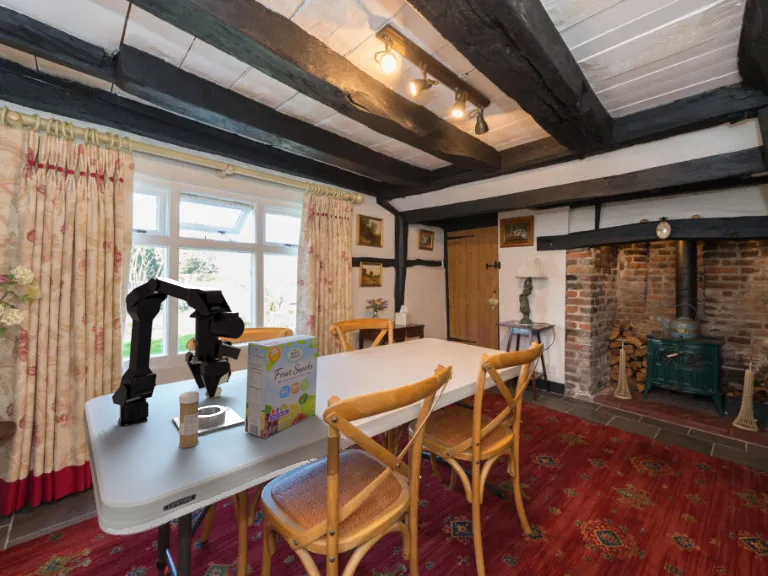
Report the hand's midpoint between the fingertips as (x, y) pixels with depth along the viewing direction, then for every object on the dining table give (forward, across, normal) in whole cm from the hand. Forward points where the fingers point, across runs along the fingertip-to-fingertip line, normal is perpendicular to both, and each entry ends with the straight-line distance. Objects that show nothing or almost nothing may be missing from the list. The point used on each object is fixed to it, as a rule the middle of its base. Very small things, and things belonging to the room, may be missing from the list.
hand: (206, 392), depth 94 cm
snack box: (+13, -4, -21) cm, 25 cm away
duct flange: (+13, +12, -4) cm, 18 cm away
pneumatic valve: (+13, +33, -12) cm, 38 cm away
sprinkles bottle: (+13, 0, +4) cm, 14 cm away
